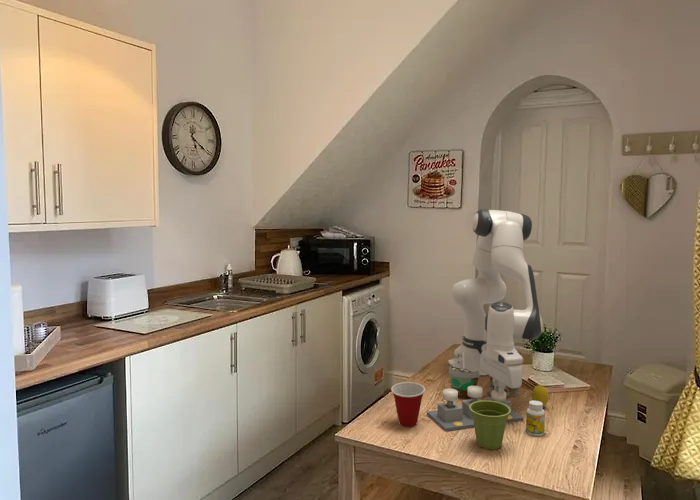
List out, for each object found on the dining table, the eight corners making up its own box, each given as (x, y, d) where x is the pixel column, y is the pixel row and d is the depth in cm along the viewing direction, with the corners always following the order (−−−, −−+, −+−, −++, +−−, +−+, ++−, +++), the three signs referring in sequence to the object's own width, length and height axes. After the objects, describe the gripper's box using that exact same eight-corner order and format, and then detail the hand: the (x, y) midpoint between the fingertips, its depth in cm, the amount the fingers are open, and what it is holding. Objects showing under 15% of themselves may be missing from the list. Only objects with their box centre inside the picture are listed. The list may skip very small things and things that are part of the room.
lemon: (549, 411, 188) (550, 388, 187) (532, 409, 189) (533, 387, 189) (546, 404, 194) (547, 382, 193) (530, 403, 195) (531, 381, 194)
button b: (464, 405, 184) (464, 386, 183) (477, 403, 186) (477, 385, 185) (471, 410, 180) (472, 391, 179) (484, 408, 181) (485, 389, 180)
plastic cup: (386, 427, 175) (386, 390, 174) (397, 414, 185) (397, 380, 184) (418, 433, 171) (419, 395, 170) (428, 420, 181) (429, 384, 180)
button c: (440, 408, 182) (440, 389, 181) (453, 406, 183) (453, 387, 182) (446, 413, 177) (447, 394, 176) (460, 412, 178) (460, 392, 178)
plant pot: (460, 440, 166) (461, 404, 165) (492, 433, 171) (493, 398, 170) (485, 457, 155) (486, 418, 154) (518, 449, 160) (519, 411, 159)
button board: (426, 414, 185) (426, 400, 185) (499, 404, 194) (500, 391, 193) (445, 431, 172) (446, 416, 172) (523, 420, 180) (523, 405, 180)
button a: (488, 409, 187) (488, 390, 186) (500, 407, 188) (501, 389, 188) (495, 414, 182) (496, 395, 182) (508, 412, 184) (509, 394, 183)
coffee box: (502, 400, 198) (503, 356, 197) (489, 394, 204) (490, 352, 202) (519, 395, 203) (521, 352, 201) (506, 390, 208) (507, 348, 207)
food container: (441, 393, 205) (441, 367, 204) (450, 389, 209) (451, 363, 208) (470, 402, 196) (470, 375, 195) (479, 398, 200) (480, 371, 199)
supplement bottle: (547, 433, 171) (548, 403, 170) (537, 438, 167) (538, 407, 166) (532, 427, 175) (533, 398, 174) (522, 432, 172) (523, 402, 171)
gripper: (475, 344, 192) (474, 383, 194) (509, 361, 173) (507, 404, 174) (491, 343, 194) (490, 381, 196) (526, 359, 175) (525, 402, 176)
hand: (499, 392), depth 185 cm, fingers closed, pressing on button a
